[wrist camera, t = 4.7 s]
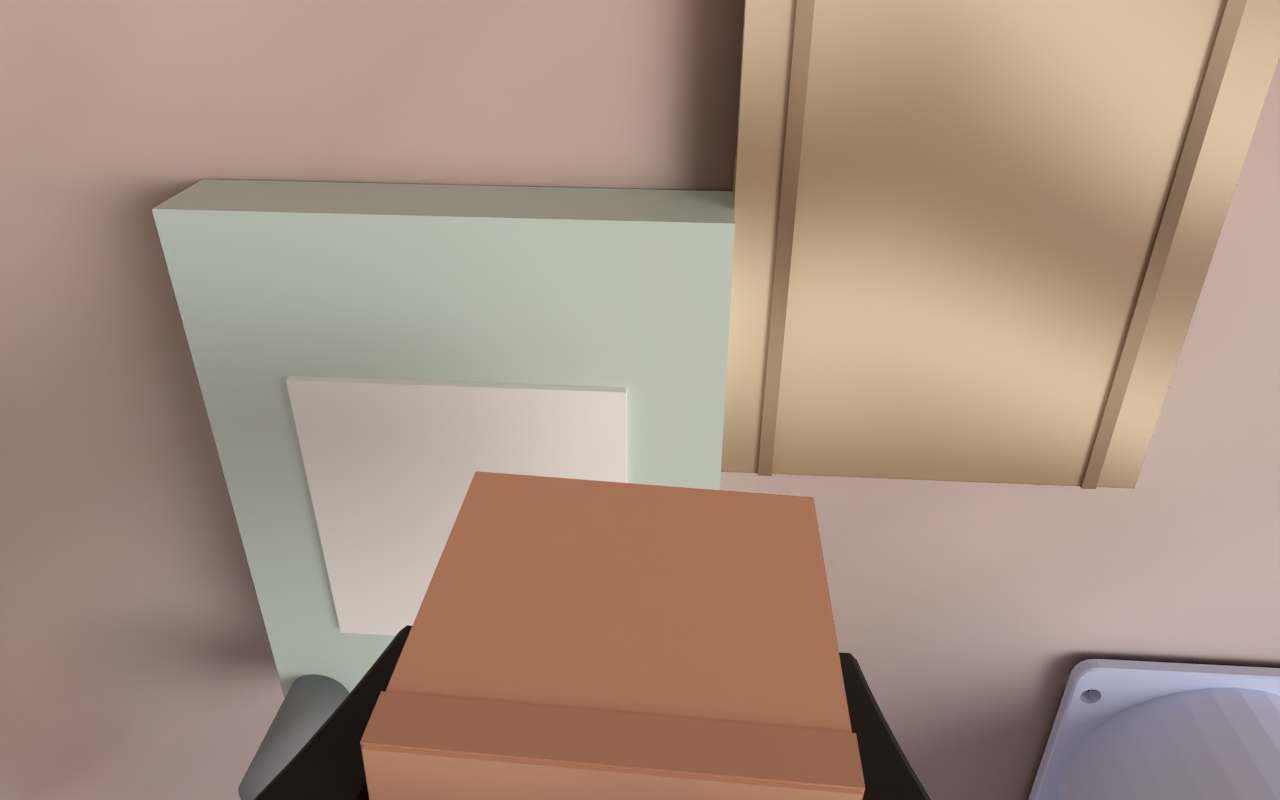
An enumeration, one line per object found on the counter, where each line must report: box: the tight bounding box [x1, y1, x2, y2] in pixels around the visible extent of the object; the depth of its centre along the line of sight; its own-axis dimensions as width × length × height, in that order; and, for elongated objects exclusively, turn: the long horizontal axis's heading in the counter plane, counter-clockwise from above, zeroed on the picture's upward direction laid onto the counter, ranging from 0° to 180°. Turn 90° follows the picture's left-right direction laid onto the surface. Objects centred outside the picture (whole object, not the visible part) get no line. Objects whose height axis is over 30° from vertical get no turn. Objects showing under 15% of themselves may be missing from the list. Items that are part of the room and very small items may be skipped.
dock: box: [152, 179, 735, 800], centre depth 20 cm, size 14×11×5 cm
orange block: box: [360, 471, 865, 800], centre depth 11 cm, size 5×5×4 cm
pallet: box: [721, 0, 1280, 489], centre depth 17 cm, size 12×9×1 cm
